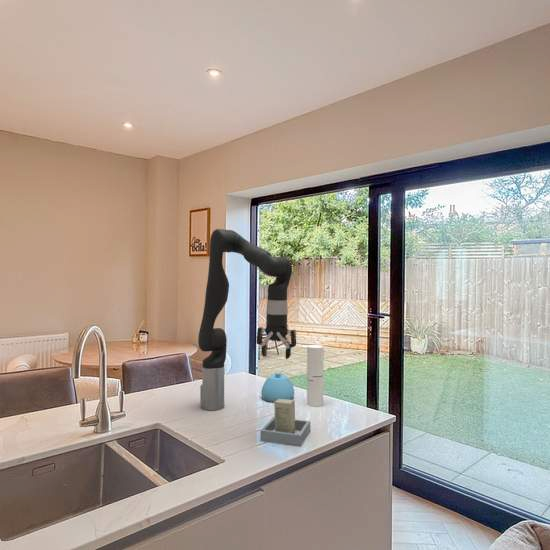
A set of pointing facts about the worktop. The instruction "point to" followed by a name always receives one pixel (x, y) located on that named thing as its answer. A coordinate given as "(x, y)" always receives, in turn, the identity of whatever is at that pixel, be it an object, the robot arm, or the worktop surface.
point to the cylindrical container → (315, 375)
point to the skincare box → (285, 415)
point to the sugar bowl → (277, 388)
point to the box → (283, 437)
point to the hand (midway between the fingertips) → (275, 357)
